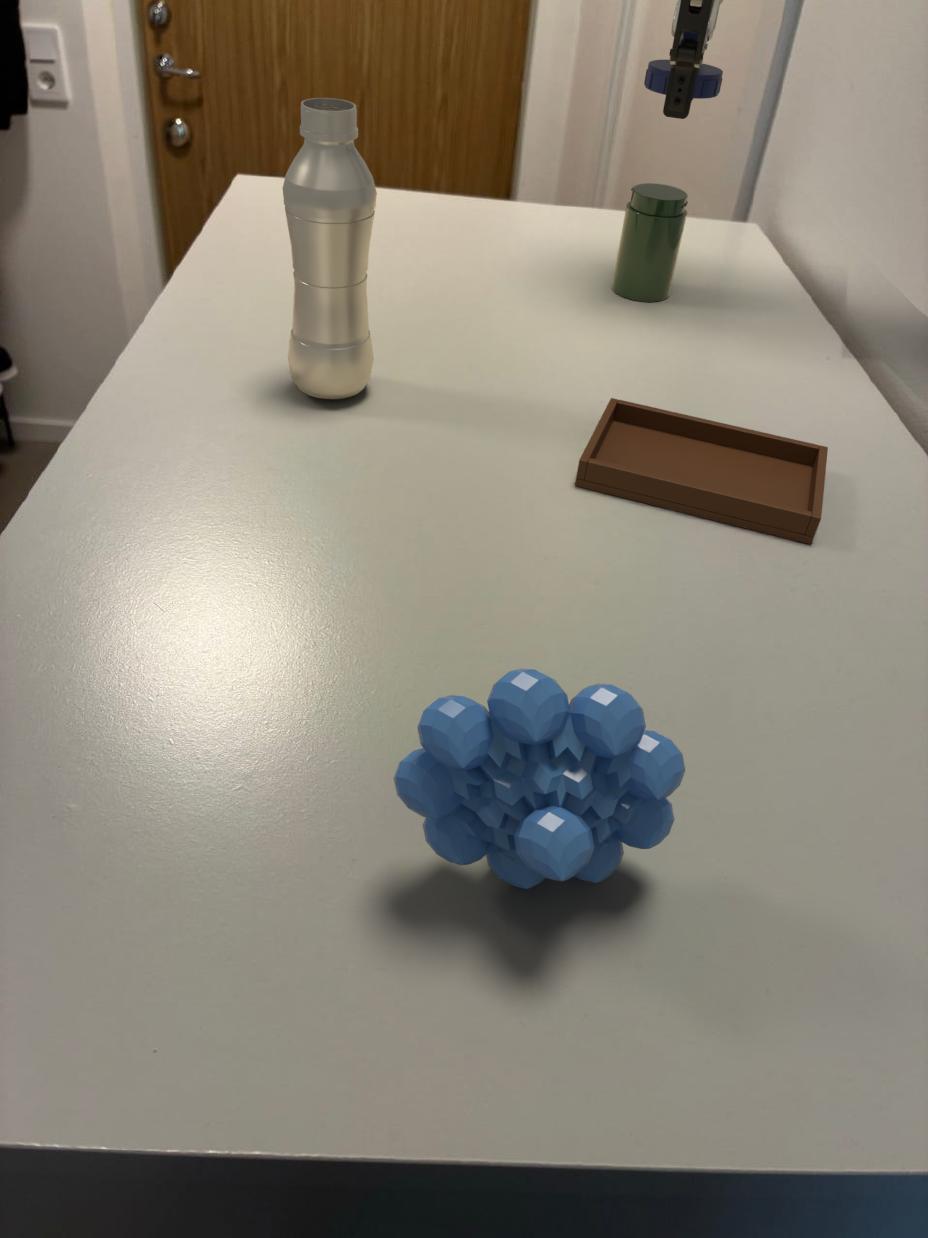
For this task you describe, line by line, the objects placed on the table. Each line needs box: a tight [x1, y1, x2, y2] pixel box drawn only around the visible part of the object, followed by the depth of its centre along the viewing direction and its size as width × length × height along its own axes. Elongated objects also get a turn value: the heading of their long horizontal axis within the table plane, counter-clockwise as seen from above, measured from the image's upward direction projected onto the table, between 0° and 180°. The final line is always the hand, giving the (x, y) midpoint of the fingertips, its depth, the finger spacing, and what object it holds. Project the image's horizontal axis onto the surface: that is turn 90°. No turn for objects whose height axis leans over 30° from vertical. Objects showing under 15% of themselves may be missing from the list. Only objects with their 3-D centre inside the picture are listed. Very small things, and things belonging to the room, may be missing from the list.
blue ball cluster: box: [393, 668, 686, 890], centre depth 37 cm, size 12×7×12 cm, turn 95°
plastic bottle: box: [282, 97, 378, 400], centre depth 68 cm, size 6×7×20 cm
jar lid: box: [643, 59, 724, 100], centre depth 83 cm, size 6×6×2 cm
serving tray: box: [574, 397, 829, 545], centre depth 67 cm, size 16×10×2 cm, turn 71°
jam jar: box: [611, 182, 689, 303], centre depth 92 cm, size 6×6×10 cm
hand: (678, 107), depth 84 cm, fingers closed on jar lid, 6 cm apart
